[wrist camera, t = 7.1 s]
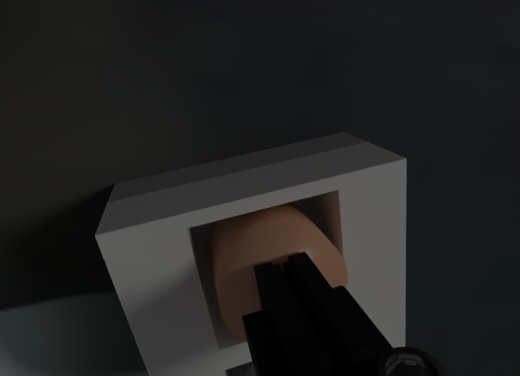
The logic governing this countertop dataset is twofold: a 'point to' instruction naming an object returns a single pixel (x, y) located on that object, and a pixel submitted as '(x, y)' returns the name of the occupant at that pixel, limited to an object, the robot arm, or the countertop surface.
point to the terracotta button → (264, 256)
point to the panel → (240, 202)
